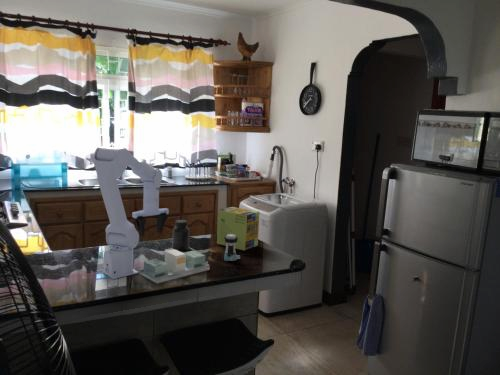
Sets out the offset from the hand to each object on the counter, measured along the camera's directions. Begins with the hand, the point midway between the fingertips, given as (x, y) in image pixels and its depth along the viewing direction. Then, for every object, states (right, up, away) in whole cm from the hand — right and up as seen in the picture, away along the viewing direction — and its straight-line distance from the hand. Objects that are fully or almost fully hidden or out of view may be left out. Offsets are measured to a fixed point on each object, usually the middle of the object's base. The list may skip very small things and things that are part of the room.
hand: (150, 234), depth 160 cm
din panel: (+12, -12, -12) cm, 21 cm away
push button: (+31, -11, +4) cm, 33 cm away
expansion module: (+11, -11, -12) cm, 20 cm away
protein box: (+32, -8, +25) cm, 42 cm away
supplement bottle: (+9, -8, +14) cm, 19 cm away
